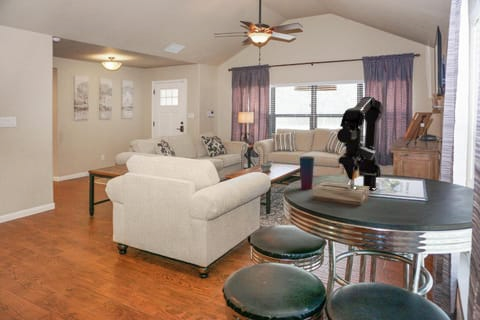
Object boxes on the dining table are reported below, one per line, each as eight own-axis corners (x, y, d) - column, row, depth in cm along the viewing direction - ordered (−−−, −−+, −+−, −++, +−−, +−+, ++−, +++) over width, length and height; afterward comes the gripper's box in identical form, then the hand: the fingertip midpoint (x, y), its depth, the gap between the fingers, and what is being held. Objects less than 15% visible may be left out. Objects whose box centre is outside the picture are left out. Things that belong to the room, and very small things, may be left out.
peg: (348, 188, 152) (349, 168, 151) (358, 189, 150) (358, 169, 149) (345, 190, 149) (346, 170, 148) (355, 191, 147) (356, 171, 146)
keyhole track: (323, 192, 163) (323, 181, 163) (369, 198, 153) (369, 186, 152) (312, 199, 153) (312, 187, 152) (361, 205, 142) (361, 193, 141)
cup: (313, 190, 168) (314, 158, 166) (299, 189, 170) (299, 158, 168) (313, 187, 175) (314, 156, 173) (299, 186, 176) (299, 156, 174)
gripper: (368, 143, 134) (366, 184, 137) (379, 139, 150) (377, 176, 152) (338, 142, 140) (337, 181, 143) (352, 138, 156) (351, 173, 158)
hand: (352, 178), depth 149 cm, fingers closed on peg, 4 cm apart
